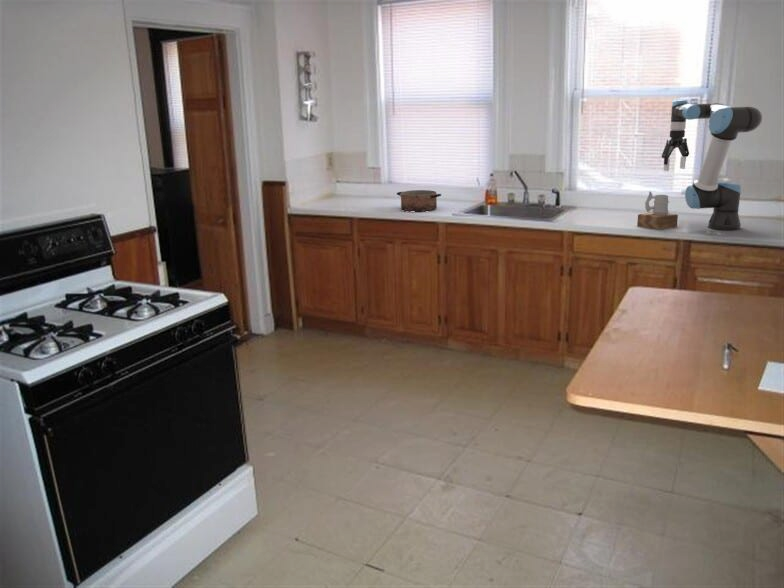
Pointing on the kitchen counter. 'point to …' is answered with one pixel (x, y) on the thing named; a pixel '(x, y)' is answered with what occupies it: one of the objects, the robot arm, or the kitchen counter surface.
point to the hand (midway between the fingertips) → (674, 169)
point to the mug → (658, 204)
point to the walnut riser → (657, 220)
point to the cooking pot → (418, 200)
